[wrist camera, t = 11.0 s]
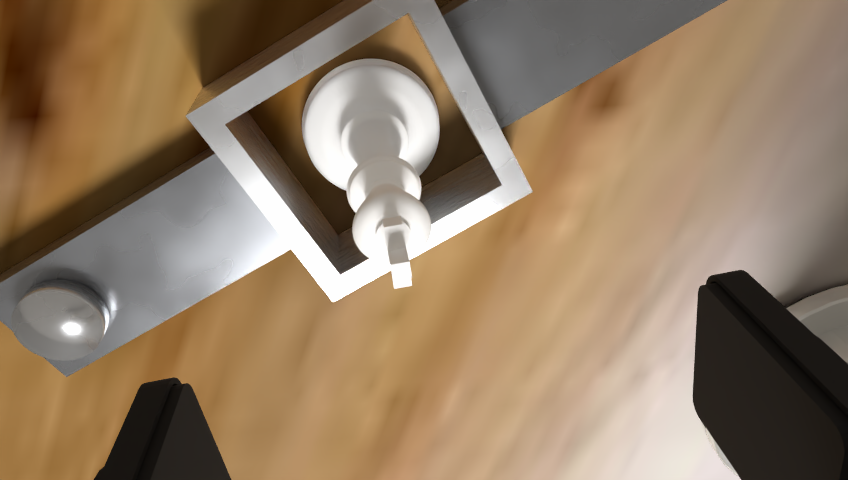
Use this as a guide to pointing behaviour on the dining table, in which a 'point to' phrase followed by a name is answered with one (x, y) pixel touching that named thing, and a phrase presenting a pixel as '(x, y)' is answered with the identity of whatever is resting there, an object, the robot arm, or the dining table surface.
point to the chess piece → (376, 154)
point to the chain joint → (279, 188)
